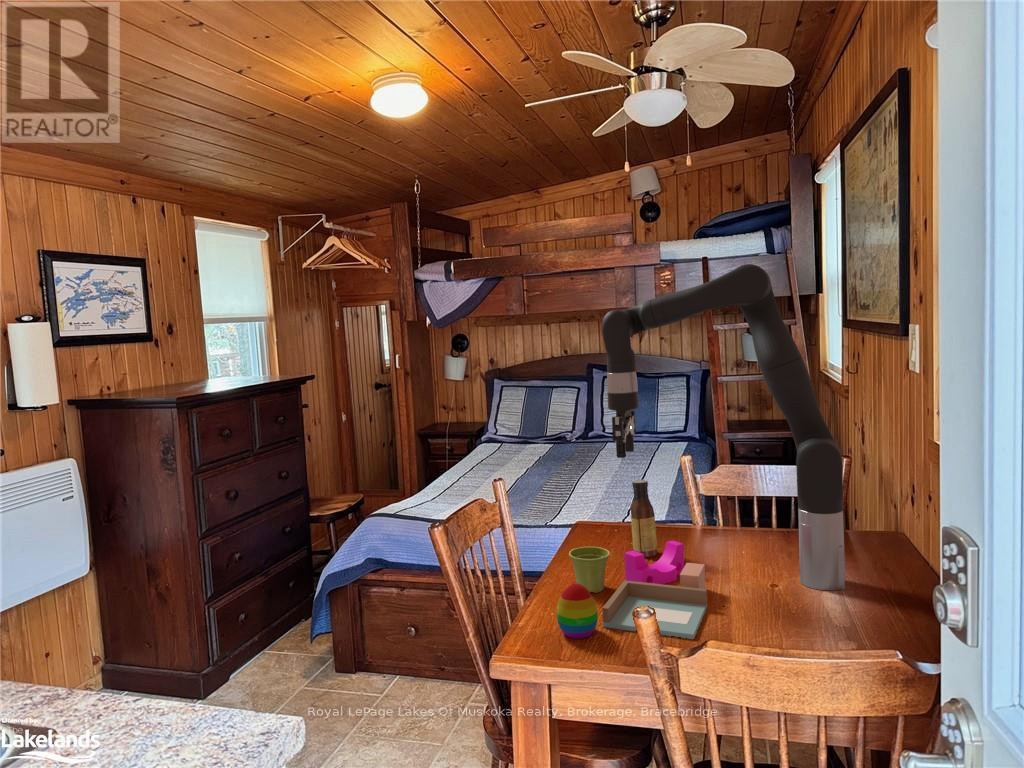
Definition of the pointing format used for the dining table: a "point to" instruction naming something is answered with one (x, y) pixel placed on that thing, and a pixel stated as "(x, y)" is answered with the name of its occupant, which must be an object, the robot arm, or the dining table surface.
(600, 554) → the plant pot
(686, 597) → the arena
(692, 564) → the block
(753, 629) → the dining table surface
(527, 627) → the dining table surface
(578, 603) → the decorative egg
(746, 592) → the dining table surface
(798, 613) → the dining table surface
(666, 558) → the toy block
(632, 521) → the sauce bottle
